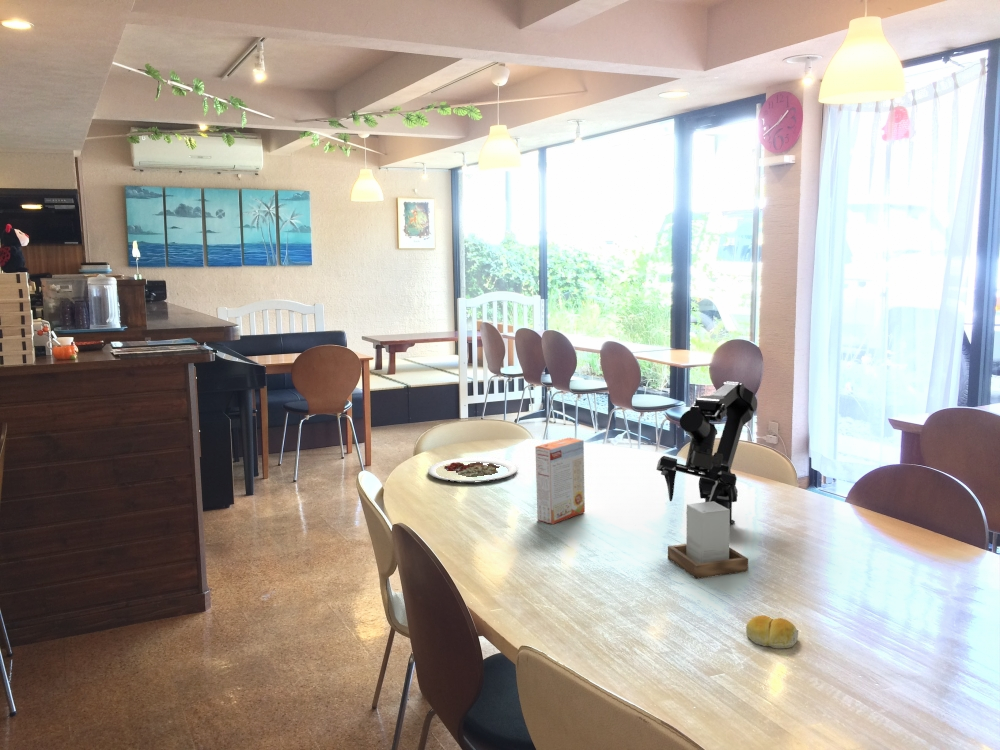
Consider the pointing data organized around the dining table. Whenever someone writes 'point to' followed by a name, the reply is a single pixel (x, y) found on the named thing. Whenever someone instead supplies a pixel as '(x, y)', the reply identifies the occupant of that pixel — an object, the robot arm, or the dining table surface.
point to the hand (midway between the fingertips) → (689, 505)
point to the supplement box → (707, 532)
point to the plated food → (474, 468)
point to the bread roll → (772, 632)
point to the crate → (708, 569)
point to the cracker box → (560, 480)
